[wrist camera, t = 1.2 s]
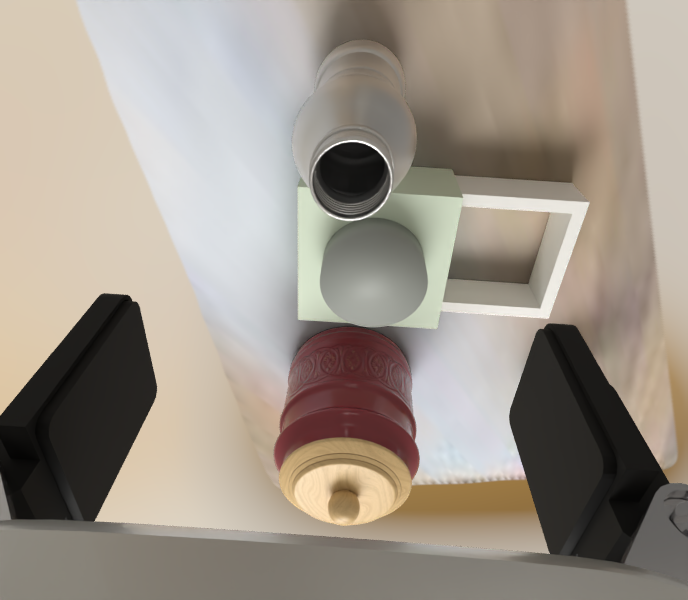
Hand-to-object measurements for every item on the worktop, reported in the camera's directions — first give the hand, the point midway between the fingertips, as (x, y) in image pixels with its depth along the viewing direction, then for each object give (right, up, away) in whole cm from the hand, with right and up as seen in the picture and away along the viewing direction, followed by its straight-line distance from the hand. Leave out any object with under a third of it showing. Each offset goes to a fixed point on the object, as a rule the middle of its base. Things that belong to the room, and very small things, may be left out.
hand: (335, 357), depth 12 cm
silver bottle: (+1, +18, +26) cm, 31 cm away
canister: (+1, -6, +42) cm, 42 cm away
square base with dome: (+8, +7, +32) cm, 34 cm away
